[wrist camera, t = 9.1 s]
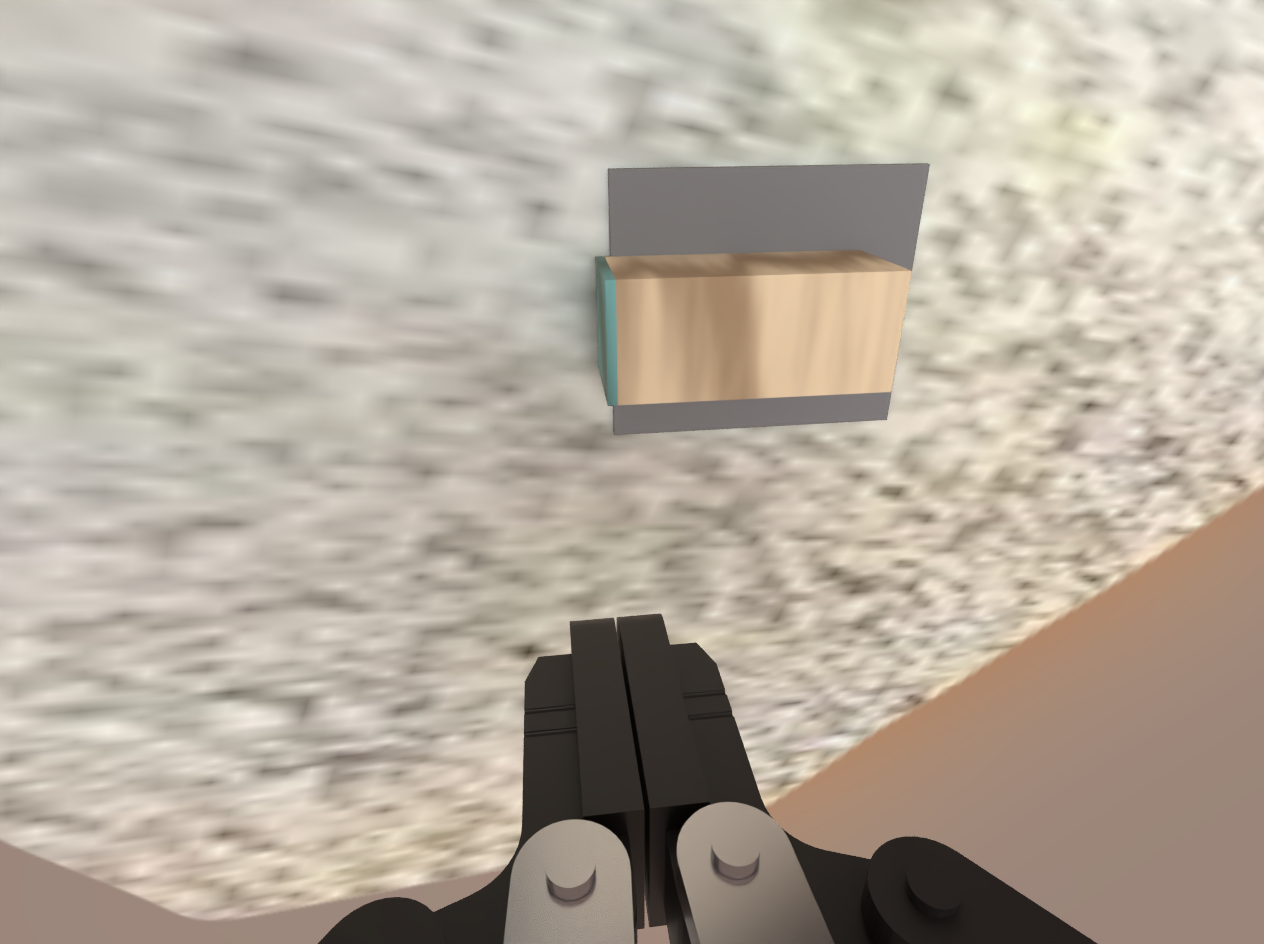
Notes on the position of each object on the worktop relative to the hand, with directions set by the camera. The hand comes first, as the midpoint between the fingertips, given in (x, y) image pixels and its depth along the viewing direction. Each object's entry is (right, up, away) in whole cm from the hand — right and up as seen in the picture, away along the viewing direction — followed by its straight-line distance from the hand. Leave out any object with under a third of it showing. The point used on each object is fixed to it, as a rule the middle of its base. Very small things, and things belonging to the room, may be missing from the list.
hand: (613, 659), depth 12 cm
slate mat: (+6, +11, +21) cm, 25 cm away
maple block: (-1, +9, +18) cm, 20 cm away
